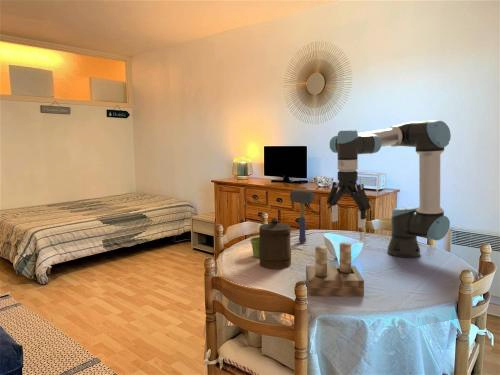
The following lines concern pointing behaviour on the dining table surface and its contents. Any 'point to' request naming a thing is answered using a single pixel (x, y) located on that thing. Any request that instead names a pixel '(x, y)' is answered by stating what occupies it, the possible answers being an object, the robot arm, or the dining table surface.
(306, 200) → the rubber mallet
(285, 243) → the wooden container
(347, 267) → the beech peg
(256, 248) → the plant pot
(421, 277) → the dining table surface
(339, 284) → the board
